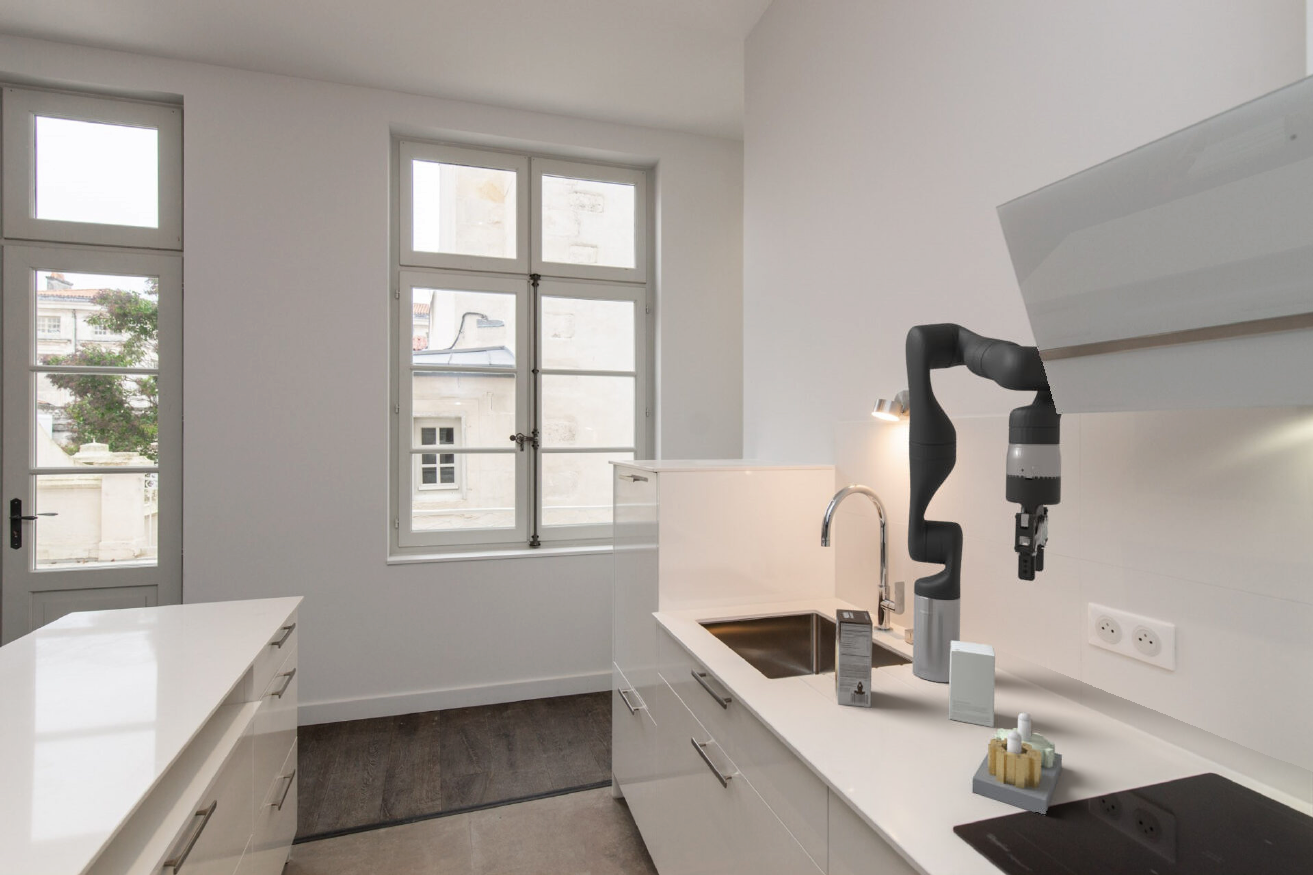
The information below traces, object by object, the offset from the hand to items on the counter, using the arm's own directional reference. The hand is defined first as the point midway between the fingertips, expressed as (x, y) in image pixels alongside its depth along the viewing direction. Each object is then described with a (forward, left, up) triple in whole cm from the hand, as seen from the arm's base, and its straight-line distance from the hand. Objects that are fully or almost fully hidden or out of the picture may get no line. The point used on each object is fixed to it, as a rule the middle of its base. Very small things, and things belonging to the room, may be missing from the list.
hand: (1031, 575), depth 103 cm
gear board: (+8, 0, -29) cm, 30 cm away
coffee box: (-6, -31, -29) cm, 43 cm away
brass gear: (+12, 0, -27) cm, 30 cm away
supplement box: (-12, -11, -30) cm, 34 cm away
